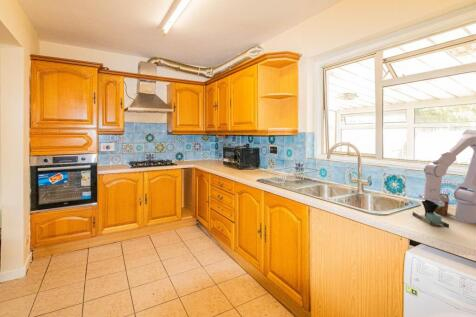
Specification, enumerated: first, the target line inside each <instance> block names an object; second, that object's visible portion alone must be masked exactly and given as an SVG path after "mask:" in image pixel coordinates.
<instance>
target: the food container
mask: <svg viewBox="0 0 476 317" xmlns="http://www.w3.org/2000/svg"><path fill="white" fill-rule="evenodd" d="M439 199H440V200H441V201H443V202H445V204H444V206H439V207H437V209H436V210H435V212H434V213H436V214H438V215H440V216H442V217H443V216H444V217H447V216H448V212H449V211H448V210H449V205H450V204H449V203H450V197H449V193H441V192H440V195H439Z"/></svg>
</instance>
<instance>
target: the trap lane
mask: <svg viewBox="0 0 476 317" xmlns="http://www.w3.org/2000/svg"><path fill="white" fill-rule="evenodd" d="M411 215H412V216H414V217H416V218H417V219H419V220H421V221H423V222H424V223H425V224H428V225H430V226H432V227H434V228H445V229H446V228H447V229H448V228H450V224H449V223H447V222H446V221H443V220H441V224H440V225H438V224H435V223H433V222H431V221H430V220H428V219H426V214H425V213H424V215H420V214H418V213H416V212H414V211H412V214H411Z"/></svg>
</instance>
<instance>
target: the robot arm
mask: <svg viewBox="0 0 476 317" xmlns="http://www.w3.org/2000/svg"><path fill="white" fill-rule="evenodd" d="M468 147H469V148H471V149H472V150H473V154H472V156H471V160H470V163H469V166H468V168H467V172H466V175H465V178H464V181H463V182H460V183H458V184H457V186H456V188H455V189H454V191H453V198H454V199H455V202H456V208H455V213H454V216H451V215H450V216H449V217H450V218H451V219H453V220H456V221H458V222H460V223H463V224H476V129H475V130H473V129H472V130H471V129H466V130H464V131H463V132H462V133H461V134H460V136H459V139H458V140H457V142H456V143H455V144H454V145H453V146H452V147H451V148H450V149H449V150H448V151H444V152H441V153H440V155H439V156H438V157H437V158H436V159H435V160H433V161H432V162H431V163H427V164H425V166H424V168H423V172H424V175H425V185H424V191H423V192H424V193H419V194H418V198H419V199H421V204H422V205H423V209H424V215H425V214H426V213H435V210H436V209H437V207H439V206H444V204H445V202H443V201H441V200H440V199H439V195H440V193H441V187H442V180H443V177H444V176H446V174H447V171H448V169H449V168H450V167H451V166H452V165H453V163H455V162H456V161H457V156H458V155H459V154H461V153H462V152H463V151H465V150H466V149H467V148H468Z"/></svg>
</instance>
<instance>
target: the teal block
mask: <svg viewBox="0 0 476 317" xmlns="http://www.w3.org/2000/svg"><path fill="white" fill-rule="evenodd" d="M442 217H443V216H442V215H439V214H436V213H435V212H434V213H426V219H428V220H430V221H431V222H433V223H435V224H438V225H440V224H441V221H442Z"/></svg>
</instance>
